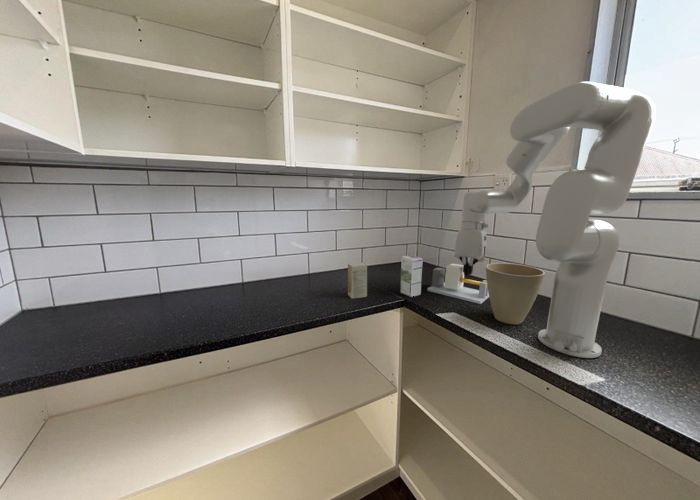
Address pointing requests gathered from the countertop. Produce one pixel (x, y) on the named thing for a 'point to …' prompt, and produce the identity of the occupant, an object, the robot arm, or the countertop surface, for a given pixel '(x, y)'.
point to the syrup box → (411, 275)
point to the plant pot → (512, 290)
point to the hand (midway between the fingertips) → (467, 274)
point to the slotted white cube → (454, 276)
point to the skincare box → (357, 280)
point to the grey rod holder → (463, 292)
